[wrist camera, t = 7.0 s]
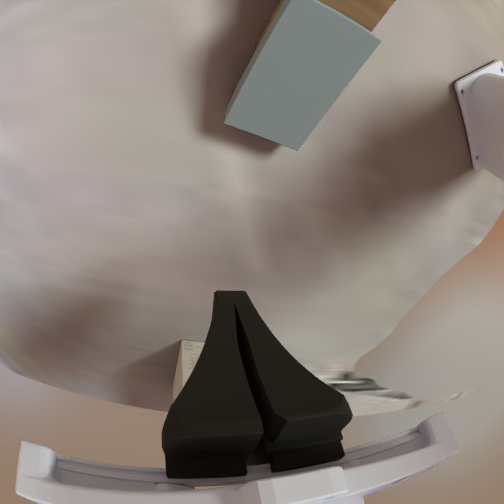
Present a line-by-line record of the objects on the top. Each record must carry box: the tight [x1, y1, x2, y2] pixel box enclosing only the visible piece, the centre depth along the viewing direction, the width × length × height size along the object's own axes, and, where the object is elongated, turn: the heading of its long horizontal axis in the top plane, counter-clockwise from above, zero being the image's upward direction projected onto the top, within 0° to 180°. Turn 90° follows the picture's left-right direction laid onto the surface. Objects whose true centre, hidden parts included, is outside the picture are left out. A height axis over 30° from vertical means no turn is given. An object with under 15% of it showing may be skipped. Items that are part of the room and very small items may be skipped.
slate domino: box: [224, 0, 381, 151], centre depth 15 cm, size 2×5×9 cm
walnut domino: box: [256, 0, 396, 49], centre depth 13 cm, size 2×5×9 cm
